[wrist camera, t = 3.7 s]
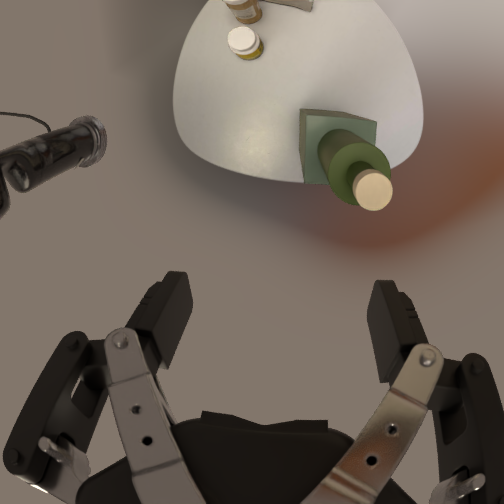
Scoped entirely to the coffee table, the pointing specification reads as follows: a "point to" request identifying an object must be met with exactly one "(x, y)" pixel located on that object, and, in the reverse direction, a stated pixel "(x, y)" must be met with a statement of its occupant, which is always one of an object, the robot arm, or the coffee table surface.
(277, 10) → the coffee table surface
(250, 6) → the sprinkles bottle
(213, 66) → the coffee table surface
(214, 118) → the coffee table surface
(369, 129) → the pedestal
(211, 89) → the coffee table surface
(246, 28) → the supplement bottle
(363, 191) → the olive bottle
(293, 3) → the grey tape dispenser
